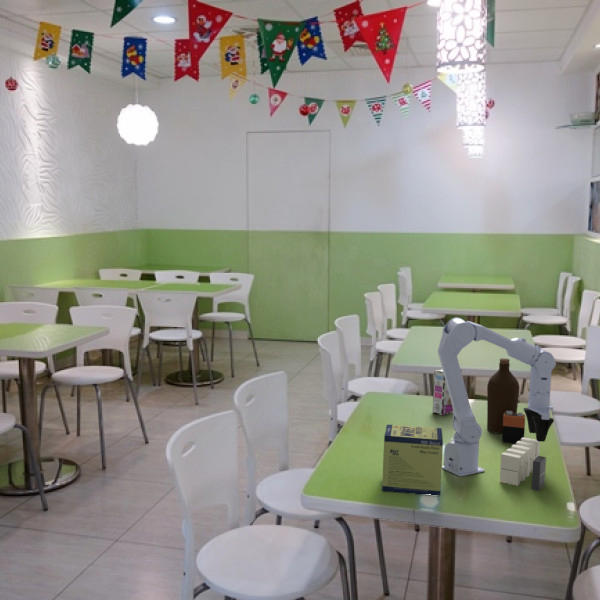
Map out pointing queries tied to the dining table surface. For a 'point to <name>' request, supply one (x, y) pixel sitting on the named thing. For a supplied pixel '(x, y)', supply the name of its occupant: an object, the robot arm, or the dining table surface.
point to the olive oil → (501, 396)
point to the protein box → (412, 459)
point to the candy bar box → (441, 394)
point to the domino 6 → (538, 473)
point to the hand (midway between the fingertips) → (536, 436)
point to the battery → (513, 427)
